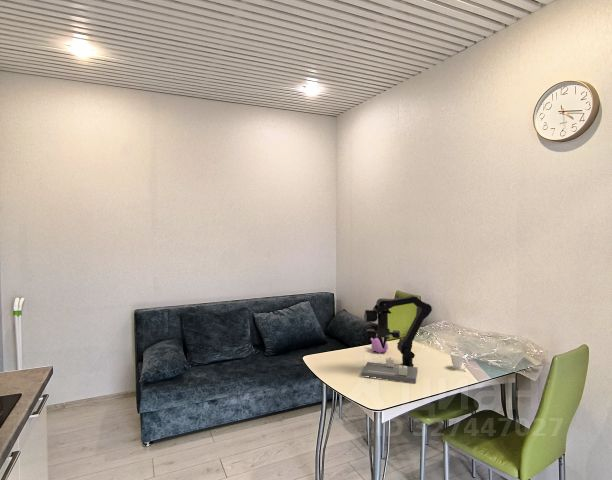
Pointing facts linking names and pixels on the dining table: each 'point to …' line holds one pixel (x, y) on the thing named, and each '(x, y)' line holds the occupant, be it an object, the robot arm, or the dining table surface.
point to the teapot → (378, 345)
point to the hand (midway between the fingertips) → (383, 348)
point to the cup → (457, 360)
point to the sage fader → (402, 370)
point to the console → (389, 372)
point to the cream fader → (390, 362)
